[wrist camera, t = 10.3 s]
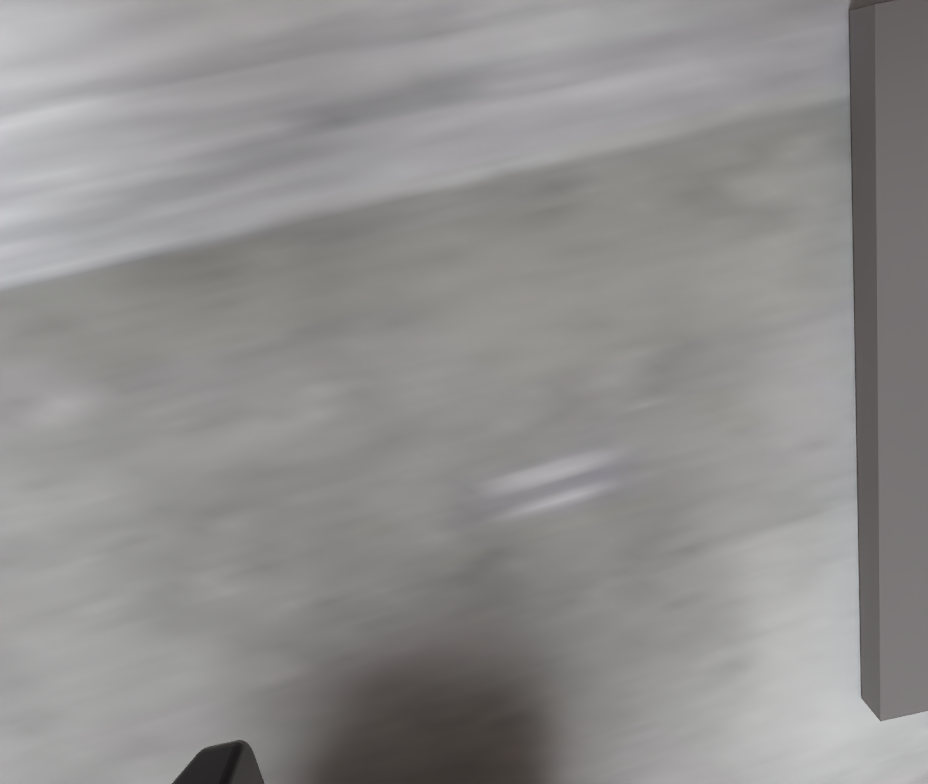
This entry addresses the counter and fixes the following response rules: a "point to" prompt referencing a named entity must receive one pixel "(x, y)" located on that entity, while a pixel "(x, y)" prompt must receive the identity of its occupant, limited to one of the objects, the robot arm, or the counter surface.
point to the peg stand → (891, 348)
